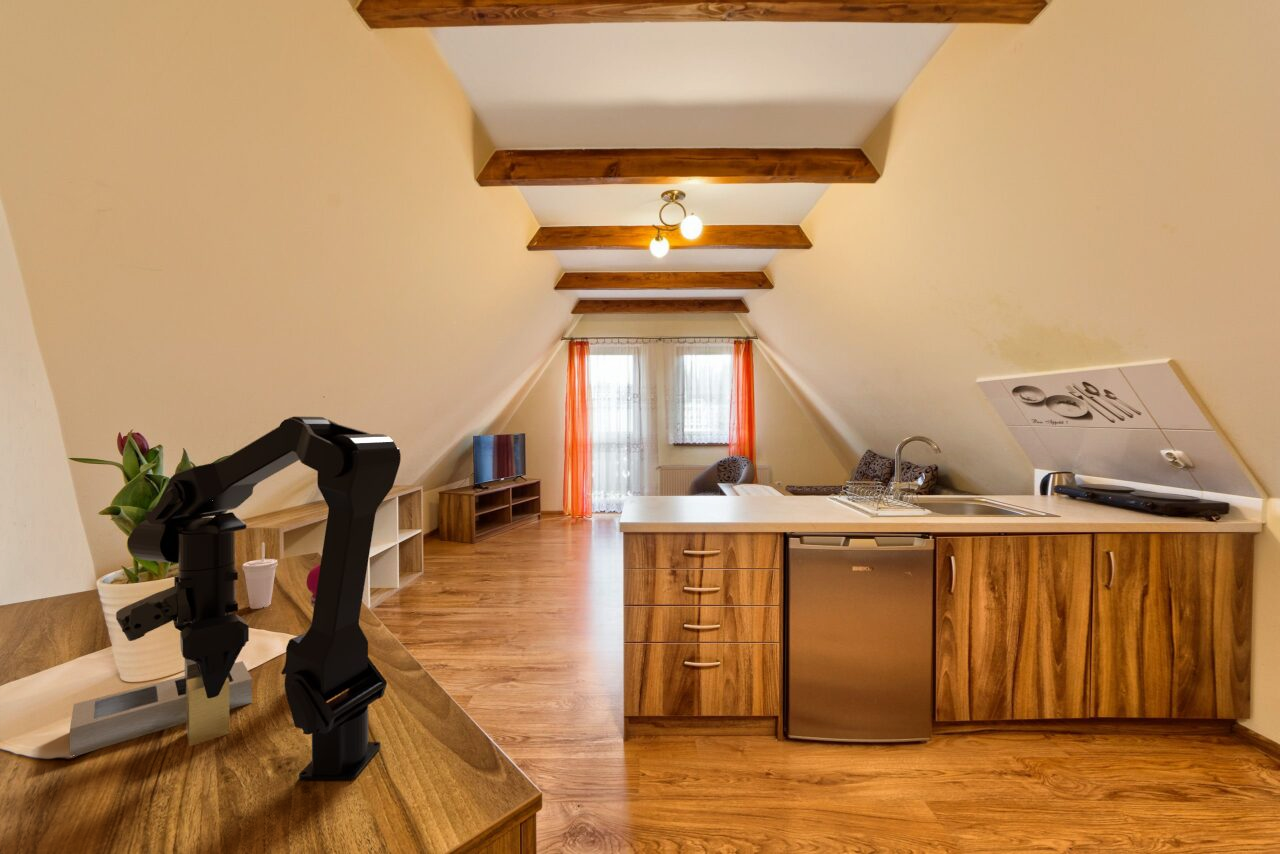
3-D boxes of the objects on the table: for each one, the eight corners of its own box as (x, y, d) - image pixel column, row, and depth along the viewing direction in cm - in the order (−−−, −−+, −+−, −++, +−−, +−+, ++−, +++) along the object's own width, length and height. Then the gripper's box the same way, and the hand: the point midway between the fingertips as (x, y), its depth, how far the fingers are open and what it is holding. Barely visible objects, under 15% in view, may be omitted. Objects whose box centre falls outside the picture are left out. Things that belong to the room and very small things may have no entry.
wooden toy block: (229, 733, 69) (229, 680, 69) (189, 746, 67) (189, 691, 66) (225, 721, 72) (224, 670, 72) (186, 733, 69) (186, 680, 69)
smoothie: (283, 604, 119) (283, 541, 118) (250, 613, 113) (250, 547, 113) (269, 599, 122) (269, 538, 122) (237, 607, 117) (236, 544, 116)
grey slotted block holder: (242, 683, 83) (242, 638, 83) (251, 702, 77) (251, 654, 77) (73, 730, 70) (73, 677, 70) (70, 757, 64) (69, 700, 64)
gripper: (121, 563, 70) (122, 680, 70) (121, 595, 57) (122, 740, 57) (226, 549, 78) (227, 654, 78) (249, 574, 65) (249, 702, 65)
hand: (208, 684), depth 69 cm, fingers open, 9 cm apart
